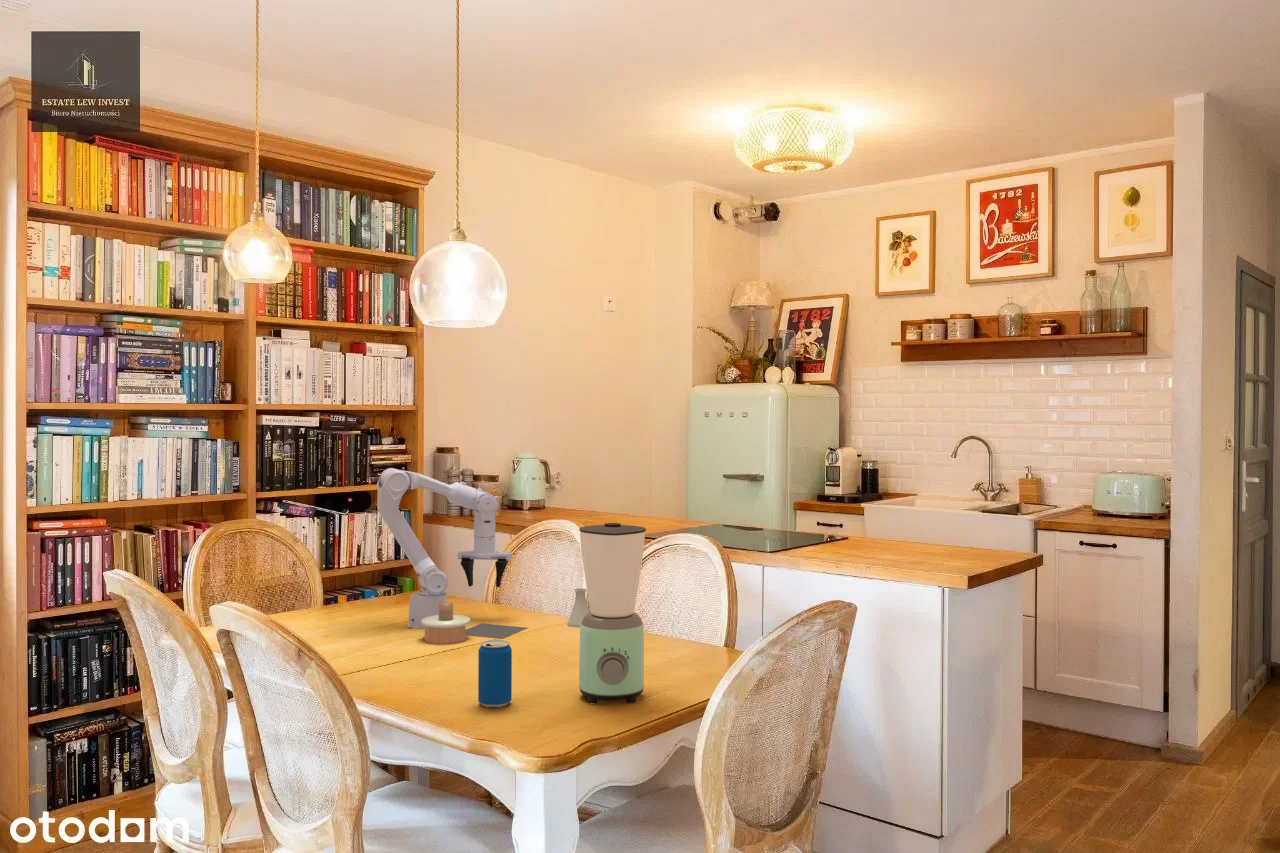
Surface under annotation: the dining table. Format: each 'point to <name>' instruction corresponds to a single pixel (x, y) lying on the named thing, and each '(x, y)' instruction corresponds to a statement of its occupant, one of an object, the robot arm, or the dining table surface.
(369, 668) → the dining table surface
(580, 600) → the flask
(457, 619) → the lid
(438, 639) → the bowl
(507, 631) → the mat
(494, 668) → the beverage can
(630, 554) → the green blender
